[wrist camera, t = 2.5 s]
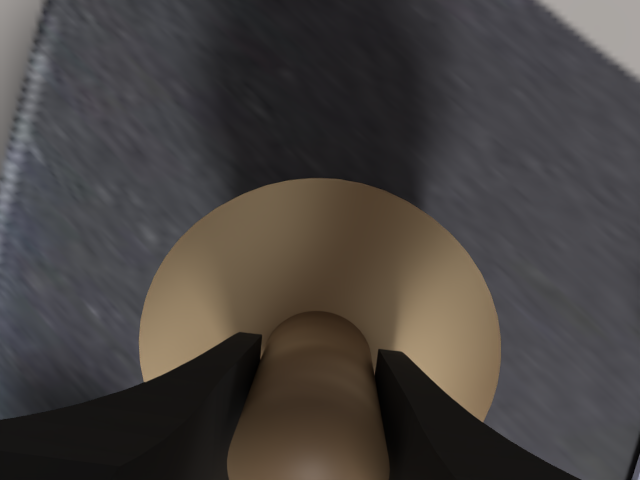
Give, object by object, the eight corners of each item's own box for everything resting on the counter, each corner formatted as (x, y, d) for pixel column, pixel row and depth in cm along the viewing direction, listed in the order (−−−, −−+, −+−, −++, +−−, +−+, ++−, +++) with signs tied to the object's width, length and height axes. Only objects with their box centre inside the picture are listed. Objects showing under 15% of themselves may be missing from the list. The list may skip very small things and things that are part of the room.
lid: (522, 198, 11) (655, 234, 7) (457, 509, 13) (522, 701, 9) (154, 158, 11) (27, 166, 7) (148, 472, 14) (50, 643, 9)
